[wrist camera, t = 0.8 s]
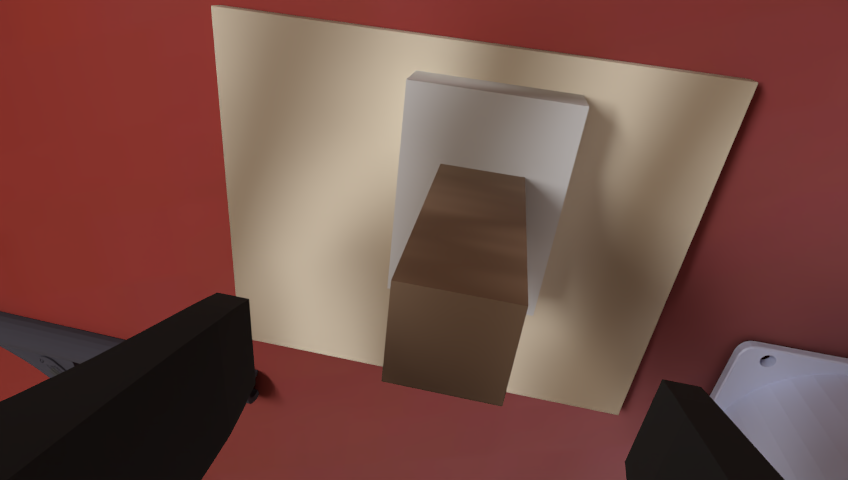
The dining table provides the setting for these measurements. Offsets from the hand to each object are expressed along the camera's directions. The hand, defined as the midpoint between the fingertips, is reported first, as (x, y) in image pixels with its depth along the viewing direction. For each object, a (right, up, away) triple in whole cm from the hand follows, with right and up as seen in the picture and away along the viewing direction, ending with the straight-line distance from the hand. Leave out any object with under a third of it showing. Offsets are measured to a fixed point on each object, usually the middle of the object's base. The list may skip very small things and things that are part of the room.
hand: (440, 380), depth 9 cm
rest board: (0, +3, +9) cm, 10 cm away
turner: (+2, +4, +8) cm, 9 cm away
